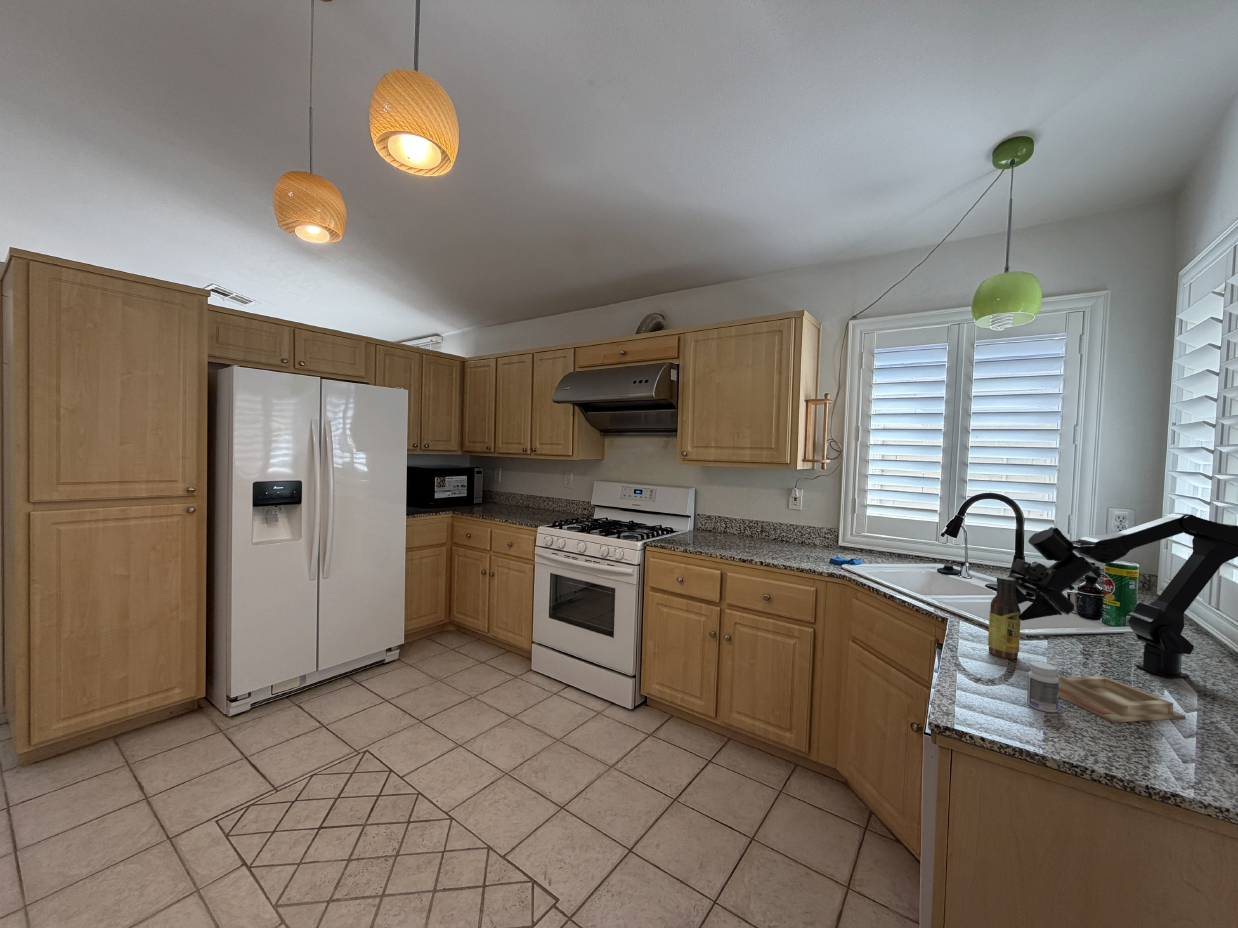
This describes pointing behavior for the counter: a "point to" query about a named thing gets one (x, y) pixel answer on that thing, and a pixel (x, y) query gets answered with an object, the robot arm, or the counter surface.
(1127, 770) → the counter surface
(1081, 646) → the counter surface
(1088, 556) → the robot arm
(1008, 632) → the sauce bottle
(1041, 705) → the pill bottle
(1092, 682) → the wooden tray
